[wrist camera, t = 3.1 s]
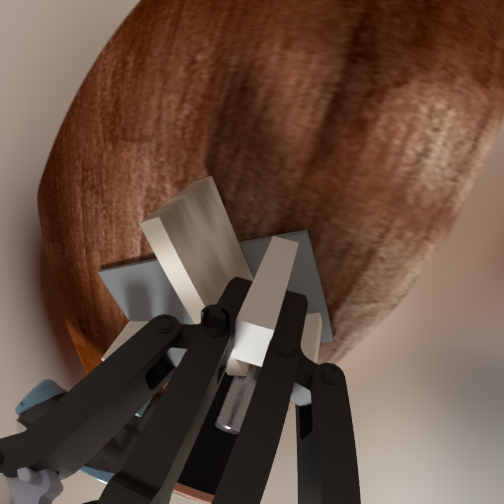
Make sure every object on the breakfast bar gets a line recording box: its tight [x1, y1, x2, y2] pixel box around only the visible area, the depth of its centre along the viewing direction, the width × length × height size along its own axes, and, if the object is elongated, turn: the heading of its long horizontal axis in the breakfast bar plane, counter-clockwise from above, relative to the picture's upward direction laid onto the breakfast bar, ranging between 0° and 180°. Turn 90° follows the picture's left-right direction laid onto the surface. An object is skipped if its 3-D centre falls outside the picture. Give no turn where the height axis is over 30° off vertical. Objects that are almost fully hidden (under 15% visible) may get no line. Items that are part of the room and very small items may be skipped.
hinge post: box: [215, 364, 261, 434], centre depth 22 cm, size 2×2×12 cm
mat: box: [98, 230, 334, 343], centre depth 28 cm, size 25×12×1 cm, turn 110°
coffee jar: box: [173, 371, 238, 504], centre depth 26 cm, size 11×11×18 cm
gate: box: [140, 176, 254, 376], centre depth 19 cm, size 13×2×7 cm, turn 20°
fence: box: [101, 313, 322, 364], centre depth 26 cm, size 24×1×7 cm, turn 110°
